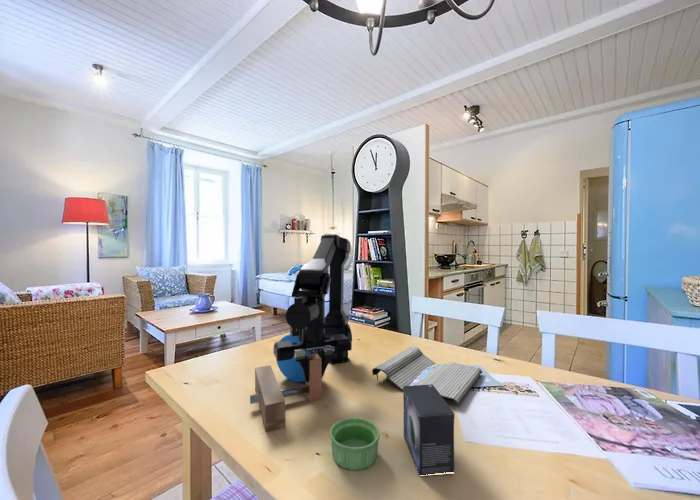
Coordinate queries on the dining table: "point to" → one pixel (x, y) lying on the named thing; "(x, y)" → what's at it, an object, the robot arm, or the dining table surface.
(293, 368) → the alarm clock
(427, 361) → the mat
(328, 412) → the dining table surface
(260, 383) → the beam
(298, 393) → the pin
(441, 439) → the small box
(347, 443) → the ramekin
